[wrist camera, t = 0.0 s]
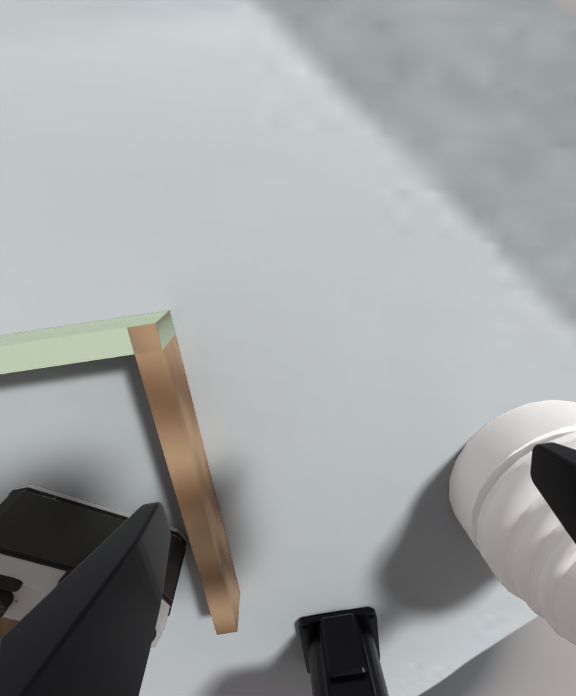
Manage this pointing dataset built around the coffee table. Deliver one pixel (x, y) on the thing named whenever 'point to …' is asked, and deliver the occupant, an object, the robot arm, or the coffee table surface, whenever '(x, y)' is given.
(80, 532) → the camera
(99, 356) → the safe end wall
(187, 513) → the trap box
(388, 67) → the coffee table surface
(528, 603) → the honey pot
